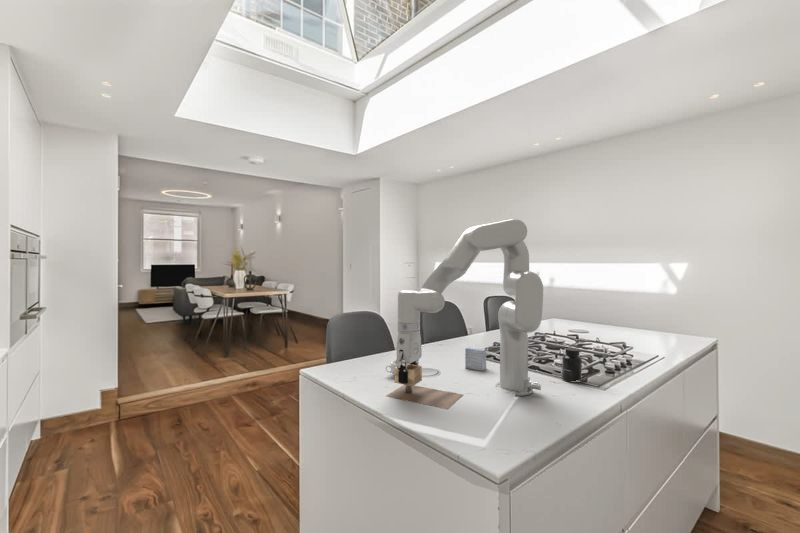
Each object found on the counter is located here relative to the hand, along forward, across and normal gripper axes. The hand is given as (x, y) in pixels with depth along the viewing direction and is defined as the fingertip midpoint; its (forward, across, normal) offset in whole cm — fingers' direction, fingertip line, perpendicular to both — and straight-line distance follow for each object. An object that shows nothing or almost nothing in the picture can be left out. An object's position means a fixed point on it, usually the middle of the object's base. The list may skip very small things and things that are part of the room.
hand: (408, 379), depth 126 cm
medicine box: (+6, +43, -10) cm, 45 cm away
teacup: (+6, +18, +14) cm, 24 cm away
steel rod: (+4, 0, 0) cm, 4 cm away
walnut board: (+6, 0, -6) cm, 8 cm away
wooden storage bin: (+1, 0, 0) cm, 1 cm away
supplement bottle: (+6, +46, -47) cm, 66 cm away
